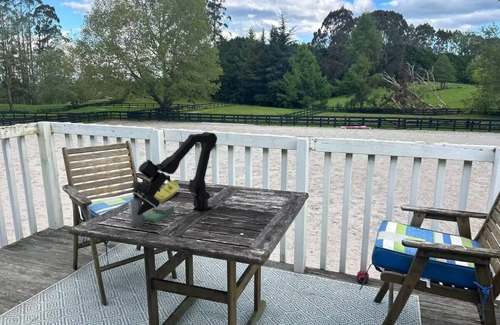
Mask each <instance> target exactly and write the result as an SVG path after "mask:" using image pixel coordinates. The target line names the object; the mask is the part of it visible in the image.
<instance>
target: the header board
mask: <svg viewBox="0 0 500 325" xmlns="http://www.w3.org/2000/svg"><path fill="white" fill-rule="evenodd" d="M142 204H143V202H142ZM154 207H155V208H152V209H150V210H148V211H146V212H144V213H143V219H144V221H148V222H152V223H157V222H159V221H160V220H162V219H164V218H166V217H167V216H170V215H172V214H174V213H175V206H174V205H169V204H162V203H161V204H159V205H158V207H156V206H154ZM128 216H129V217H130V218H132V215H131V213H129V215H128Z"/></svg>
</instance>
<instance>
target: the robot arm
mask: <svg viewBox="0 0 500 325" xmlns="http://www.w3.org/2000/svg"><path fill="white" fill-rule="evenodd" d="M217 142H218V137H217V135H216V134H215V133H214V132H209V131H204V132H203V133H191V134H189V135H188V137H187V138H186V139H185V140H184V141H183V143H182V144H181V145H180V146H179V147H178V148H177V149H176V151H175V152H174V153H173V154H171V155H169V156H168V157H166V158H165V159H164V160H162V161H161V162H160V163H158V164H155V163H153V161H152V160H150V159H147V160H146V161H144V162H142V164H140V165H139V167H138V172H139V173H141V174H142V175H143V176H144V177H146V178H147V179H149V181H146V182H144V181H137V180H133V183H132V185H131V188H132V195H133V198H132V199H136V198H140V199H142V203H143V204H142V206H141V208H140V209H139V211H138V213H137V215H141V214H142V213H144V212H146V211H148V210H150V209H152V208H155V207H154V206H156V207H158V206H160V205H161V203H160V202H159V200H157V199H156V198H155V197H154V196H155V194H156V193H157V192H160V191H161V190H160V189H162V187H163V186H164V183H165V182H166V181H167V182H168V181H169V182H171V180H172V179H171V175H173V174H175V173H176V171H177V170H178V169H179V167H180V163H181V161H182V160H183V159H184V158H185V156H186V155H187V154H188V153H189V152H190V151H191V150H192V149H193V147H194V146H195V145H196V144H200V153H199V159H198V163H197V167H196V172H195V175H194V178H193V179H189V182H188V183H189V184H188V186H187V188H188V190H189V193H190V194H191V195H192V197H193V208H192V210H193V211H198V212H205V211H207V210H208V209H211V208H210V207H211V206H210V205H209V200H208V199H209V198H210V197H211V193H209V192H208V191H206V187H207V185H206V181H205V179H206V175H207V170H208V165H209V160H210V156H211V152H212V150H214V148H215V146H216V144H217ZM166 174H167V175H166ZM145 199H146V200H145Z"/></svg>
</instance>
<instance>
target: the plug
mask: <svg viewBox="0 0 500 325" xmlns="http://www.w3.org/2000/svg"><path fill="white" fill-rule="evenodd" d="M142 199H143V198H142ZM142 199H140V198H136V199H133V198H132V199H130V201H129V202H128V211H129V212H130V214H131V215H132V217H131V223H132V227H133V228H141V227H143V226H144V225H145V223H144V222H145V220H144V219H143V213H142V214H141V215H137V213H138V211H139V209H140V208H141V206H142V203H143V202H142Z"/></svg>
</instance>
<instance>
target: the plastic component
mask: <svg viewBox="0 0 500 325" xmlns="http://www.w3.org/2000/svg"><path fill="white" fill-rule="evenodd" d="M160 190H161V191H160V192H157V193H156V194H155V196H154V197H155V198H156V199H157V200H159V202H160V204H162V203H164V202H166V201H167V200H169V199H171V198H172V197H174V195H175V194H176V193H177V192H178V191H179V190H180V186H179V184H178V183H177V182H175V181H174V180H172V179H171V182H169V181H167V183H165V185H163V186H162V187H161V188H160ZM144 200H146V199H145V198H144Z"/></svg>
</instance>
